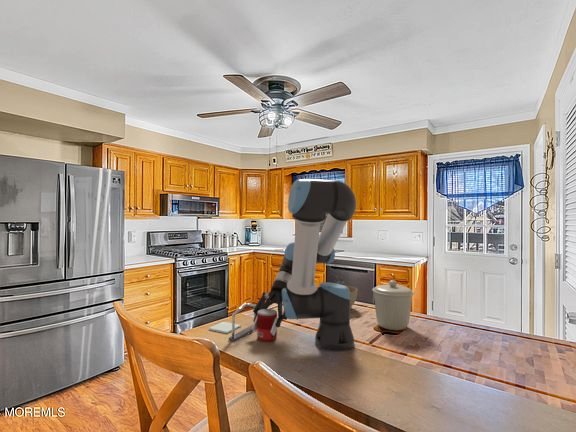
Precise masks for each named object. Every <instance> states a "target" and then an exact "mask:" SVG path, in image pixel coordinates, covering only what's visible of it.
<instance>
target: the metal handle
mask: <svg viewBox="0 0 576 432" xmlns="http://www.w3.org/2000/svg"><path fill="white" fill-rule="evenodd" d="M256 305H257V304H256V303H249V302H248V303H246V302H244V303H243V304H242V305H240V306H239V307H238V308H237V309H236V310H235V311H233V312H232V313H231V323H232V332H231V336H229V337H228V341H229V340H230V341H229V342H233V341H234V343H235V342H237V341H239V340H241V339H242V338H245V337H246V336H248V335H249V334H251V333H253V332H254V331H253V330H252V326H253V324H252V325H249V326H248V327H245V328H243V329H242V330H241V331H238V332H237V333H235V324H236V323H235V319H236V318H235V317H236V315H238V313H239V312H241V311H242V310H243V309H244V308H245V307H252V308H253V309H254V308H255V307H256ZM254 318H255V313H254V312H253V319H254ZM252 331H253V332H252ZM250 332H251V333H250ZM248 333H249V334H248ZM247 334H248V335H247ZM245 335H246V336H245ZM240 338H241V339H240Z"/></svg>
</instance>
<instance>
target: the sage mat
mask: <svg viewBox="0 0 576 432" xmlns="http://www.w3.org/2000/svg"><path fill="white" fill-rule="evenodd" d="M240 326H241V327H242V324H238V323H235V329H236V330H237V329H239V328H241V327H240ZM238 327H239V328H238ZM208 330H209V331H213V332H217V333H223V334H226V333H228V334H230V333H232V332H231V331H232V322H228V321H222V322H219V323H217V324H215V325H212V326H210V327H209V328H208ZM229 332H230V333H229Z"/></svg>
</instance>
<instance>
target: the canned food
mask: <svg viewBox="0 0 576 432" xmlns="http://www.w3.org/2000/svg"><path fill="white" fill-rule="evenodd" d="M276 317H278V310H276V309H272V308H267V309H261V310H259V311H258V313H257V330H256V332H257V334H256V335H257V336H256V337H257V339H258V340H259V341H261V342H264V343H265V342H274V341H276V340H277V337H278V334H277V333H278V329H277V330H276V332H275V335H274V336H273V335H272V334H271V332H270V331H271V329H272V326H273V324H274V321H275V319H276Z"/></svg>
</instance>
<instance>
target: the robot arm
mask: <svg viewBox="0 0 576 432" xmlns="http://www.w3.org/2000/svg"><path fill="white" fill-rule="evenodd" d="M288 194H289V195H288V201H287V202H288V204H287V209H288V212H289V213H290V214H291V215H292V216H291V217H292V219H293V220H294V221H295V229H294V230H295V233H294V241H293V242H290V243H288V245H286V248H285V250H284V254H283V258H282V260H281V264H280V267H279V270H278V272H277V273H276V275H275V278H274V281H273V283H272V285H271V289H270V291H269V292H266V291H265V292H262V294H261V297H260V299H259V301H258V302H257V304H256V307H255V308H254V307H253V310H252V312H253V314H254V313H255V318H254V317H253V320H252V321H253V324H252V325H253V326H252V330H253V332H254V333H256V332H257V313H258V311H259V310H261V309H269V307H270V306H272V305H273V304H276V305H277V317H276V319H275V321H274V324H273V326H272V329H271V331H270V332H271V334H272V335H273V336H274V335H275V332H276V330H277V331H278V328H280V326H281V324H282V321H287V320H297V321H298V320H307V319H319V324H318V327H317V330H316V333H315V336H314V337H315V338H314V339H315V340H314V343H315V345H316V346H317V347H318V348H320V349H324V350H327V351H332V352H333V351H334V352H339V351H341V352H342V351H347V350H351V349H352V348H354V346H355V338H354V334H353V331H352V328H351V323H350V322H351V321H350V317H351V313H350V312H351V310H350V291H349V289H348V288H347V287H346V286H347V285H343V284H340V283H336V282H328V281H327V282H326V281H324V282H323V281H322V282H320V284H319V286H318V284H317V283H316V282H315V279H316V276H315V275H316V267H317V264H325V265H326V264H331V263H333V262H334V261H335V257H336V253H335V252H336V251H335V249H334V248H335V246H336V244H337V242H338V240H339V238H340V236H341V234H342V232H343V230H344V228H345V226H346V224H347V222H348V221H350V220H351V219H352V218H353V217H354V214H355V213H356V209H357V199H356V194H355V193H354V191H353V190H352V188H351V187H350V185H348V184H347V183H345V182H344V181H341V180H337V179H331V180H330V179H329V180H328V179H315V178H314V179H313V178H312V179H309V178H307V179H296V180H295V181H294V182H292V185H291V188H290V190H289V193H288ZM323 223H324V224H323ZM321 224H323V226H322V228H321Z"/></svg>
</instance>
